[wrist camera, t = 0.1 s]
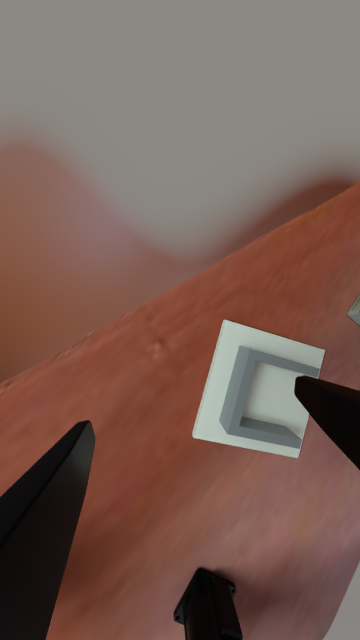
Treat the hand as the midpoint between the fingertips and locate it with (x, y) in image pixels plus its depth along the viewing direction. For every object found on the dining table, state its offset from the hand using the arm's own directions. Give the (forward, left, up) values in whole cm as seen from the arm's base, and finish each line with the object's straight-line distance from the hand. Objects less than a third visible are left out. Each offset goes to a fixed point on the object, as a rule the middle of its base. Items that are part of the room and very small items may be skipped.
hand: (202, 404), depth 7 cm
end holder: (+2, -14, -15) cm, 21 cm away
